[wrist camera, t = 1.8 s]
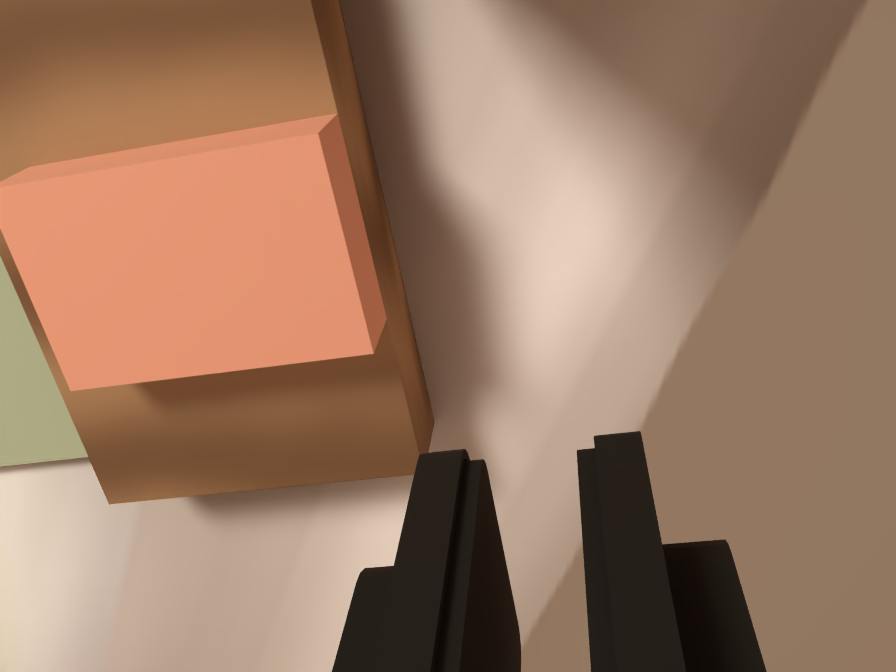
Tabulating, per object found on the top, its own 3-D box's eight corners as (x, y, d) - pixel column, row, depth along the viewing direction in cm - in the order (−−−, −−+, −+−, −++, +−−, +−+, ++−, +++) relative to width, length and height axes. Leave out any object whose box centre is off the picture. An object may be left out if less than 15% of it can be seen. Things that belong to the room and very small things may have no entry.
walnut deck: (-53, -37, 25) (-125, -30, 22) (312, -118, 23) (281, -121, 20) (145, 453, 32) (109, 504, 29) (434, 422, 30) (423, 473, 27)
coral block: (29, 166, 24) (-17, 190, 22) (337, 113, 22) (318, 132, 20) (105, 355, 26) (70, 391, 24) (386, 318, 25) (373, 353, 23)
